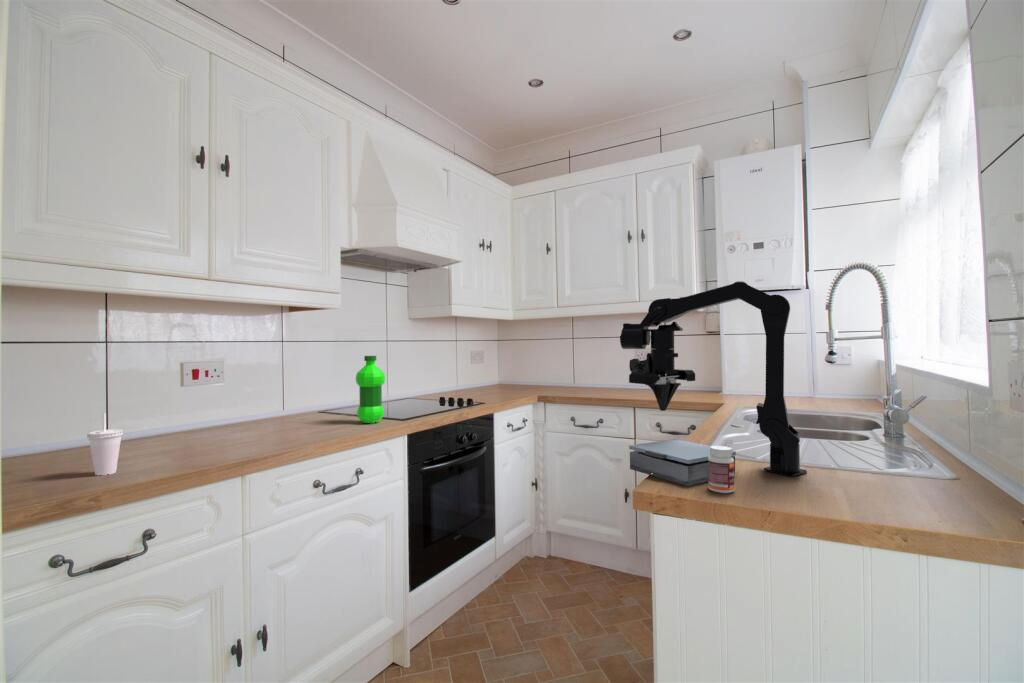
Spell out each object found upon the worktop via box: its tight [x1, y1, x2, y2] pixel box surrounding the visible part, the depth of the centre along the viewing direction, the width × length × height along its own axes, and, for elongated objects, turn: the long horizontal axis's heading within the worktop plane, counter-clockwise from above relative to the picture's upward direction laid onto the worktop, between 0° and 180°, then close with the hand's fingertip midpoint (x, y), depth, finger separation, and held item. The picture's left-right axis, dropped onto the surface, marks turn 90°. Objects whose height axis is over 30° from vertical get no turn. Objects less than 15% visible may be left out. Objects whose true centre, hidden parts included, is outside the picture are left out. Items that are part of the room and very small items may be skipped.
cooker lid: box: [628, 438, 737, 464], centre depth 108 cm, size 17×16×1 cm
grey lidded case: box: [629, 450, 736, 487], centre depth 108 cm, size 16×16×4 cm
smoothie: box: [86, 412, 124, 477], centre depth 110 cm, size 6×6×14 cm
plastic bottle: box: [355, 355, 386, 424], centre depth 178 cm, size 10×10×25 cm
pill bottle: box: [707, 445, 735, 494], centre depth 95 cm, size 5×5×8 cm
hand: (662, 410), depth 121 cm, fingers closed
